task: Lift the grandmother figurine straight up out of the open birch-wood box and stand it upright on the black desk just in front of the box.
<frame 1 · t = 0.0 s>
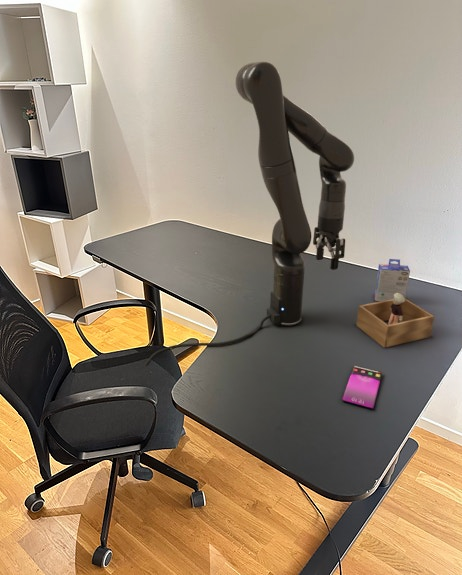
hand: (326, 264, 138), 17 cm above the table, tool pointing down, fingers open, 8 cm apart
smartphone: (362, 388, 110), on the table
grandmother figurine: (392, 331, 134), resting in birch box
birch box: (392, 331, 134), on the table
ink cartridge box: (389, 299, 154), on the table
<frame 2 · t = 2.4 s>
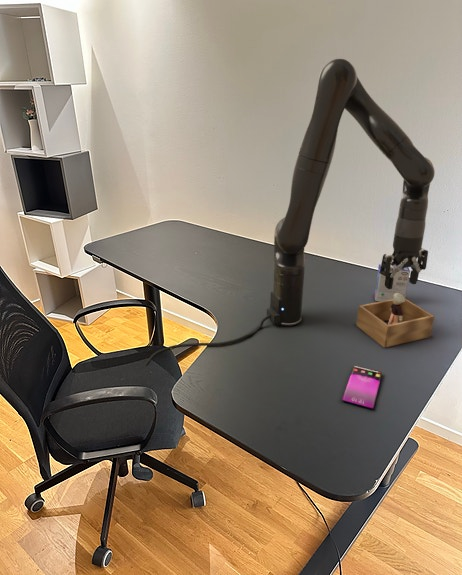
hand: (400, 285, 128), 15 cm above the table, tool pointing down, fingers open, 8 cm apart
nothing on the table moved.
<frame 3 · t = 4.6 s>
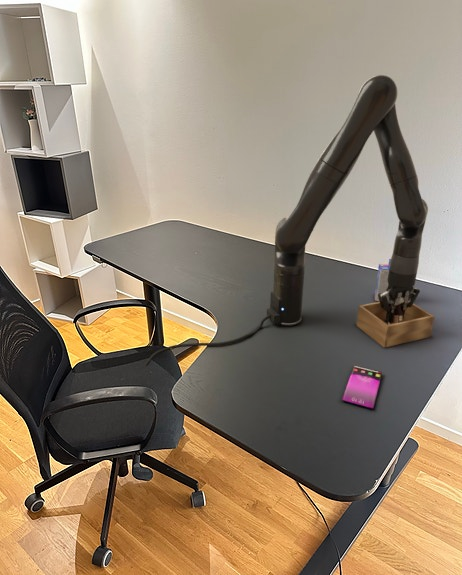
hand: (394, 320, 133), 4 cm above the table, tool pointing down, fingers closed on grandmother figurine, 3 cm apart
grandmother figurine: (392, 331, 134), resting in birch box, touching gripper
everything else where it was.
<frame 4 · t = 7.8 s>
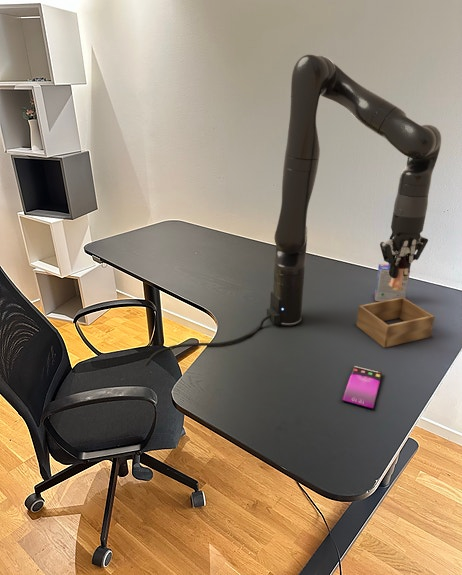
hand: (398, 276, 115), 23 cm above the table, tool pointing down, fingers closed on grandmother figurine, 3 cm apart
grandmother figurine: (396, 289, 117), point 19 cm above the table, touching gripper
everything else where it was.
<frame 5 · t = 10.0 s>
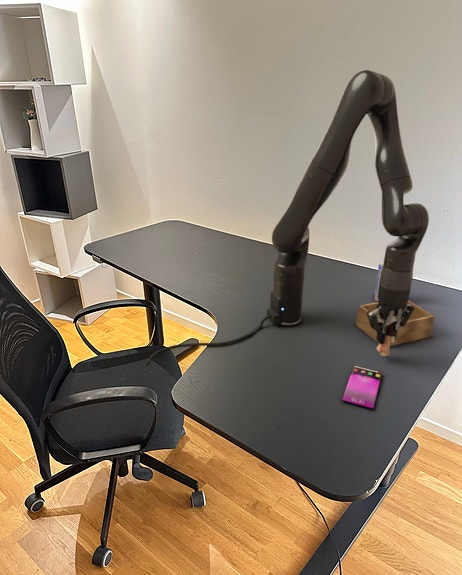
hand: (385, 341, 118), 6 cm above the table, tool pointing down, fingers closed on grandmother figurine, 3 cm apart
grandmother figurine: (383, 353, 119), point 2 cm above the table, touching gripper
everything else where it was.
when the fingers open (4 cm above the table, at t = 11.1 s): grandmother figurine stays where it is, on the table.
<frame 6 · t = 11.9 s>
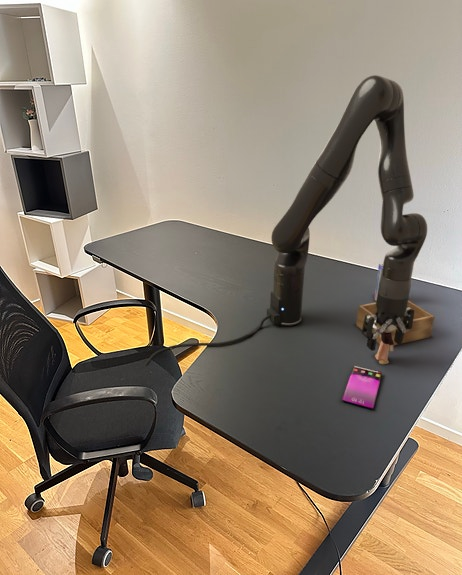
hand: (384, 345, 118), 5 cm above the table, tool pointing down, fingers open, 8 cm apart
grandmother figurine: (382, 361, 120), on the table
everything else where it was.
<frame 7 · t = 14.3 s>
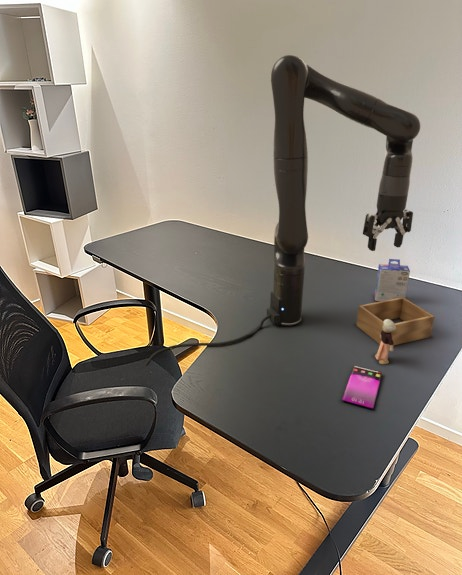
hand: (384, 248, 125), 26 cm above the table, tool pointing down, fingers open, 8 cm apart
nothing on the table moved.
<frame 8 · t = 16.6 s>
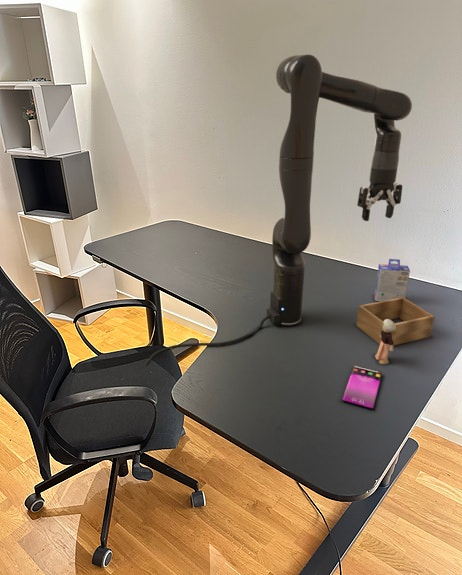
hand: (376, 219, 138), 30 cm above the table, tool pointing down, fingers open, 8 cm apart
nothing on the table moved.
at the end: grandmother figurine inside the target area (0.1 cm from its centre), on the table; grandmother figurine tilted 0°; the gripper is holding nothing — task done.
